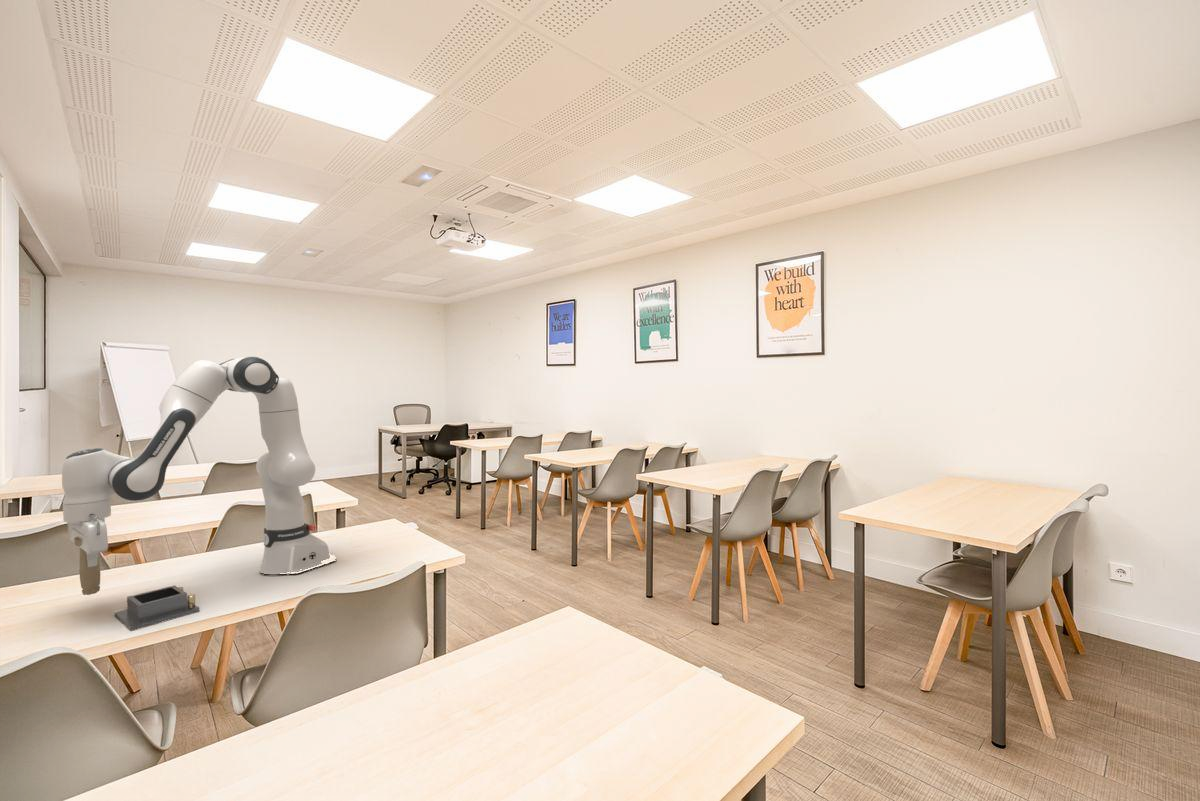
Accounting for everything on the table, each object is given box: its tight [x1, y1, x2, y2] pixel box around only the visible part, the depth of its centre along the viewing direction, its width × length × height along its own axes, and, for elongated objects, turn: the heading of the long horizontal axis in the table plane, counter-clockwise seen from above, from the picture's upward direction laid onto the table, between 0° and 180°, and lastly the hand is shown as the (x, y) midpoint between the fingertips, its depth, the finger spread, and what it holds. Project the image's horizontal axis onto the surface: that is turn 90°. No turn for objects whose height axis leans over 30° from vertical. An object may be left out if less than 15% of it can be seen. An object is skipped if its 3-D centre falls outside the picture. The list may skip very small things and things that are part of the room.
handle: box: [74, 537, 101, 596], centre depth 135 cm, size 5×6×15 cm
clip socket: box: [114, 585, 200, 632], centre depth 137 cm, size 14×14×5 cm
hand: (89, 564), depth 135 cm, fingers closed on handle, 4 cm apart
